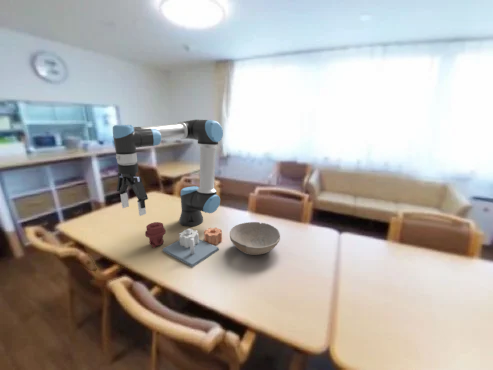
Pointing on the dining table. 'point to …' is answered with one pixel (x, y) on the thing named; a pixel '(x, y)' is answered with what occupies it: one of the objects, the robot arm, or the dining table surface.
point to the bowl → (254, 237)
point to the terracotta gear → (213, 236)
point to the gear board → (186, 255)
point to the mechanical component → (155, 233)
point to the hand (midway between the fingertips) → (133, 210)
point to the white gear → (188, 238)
